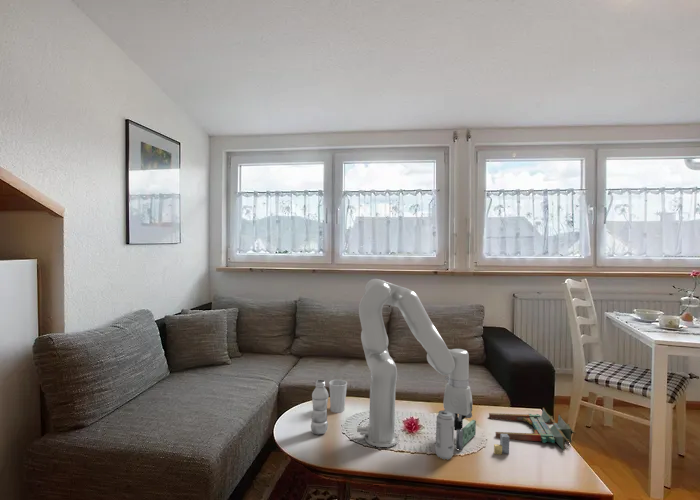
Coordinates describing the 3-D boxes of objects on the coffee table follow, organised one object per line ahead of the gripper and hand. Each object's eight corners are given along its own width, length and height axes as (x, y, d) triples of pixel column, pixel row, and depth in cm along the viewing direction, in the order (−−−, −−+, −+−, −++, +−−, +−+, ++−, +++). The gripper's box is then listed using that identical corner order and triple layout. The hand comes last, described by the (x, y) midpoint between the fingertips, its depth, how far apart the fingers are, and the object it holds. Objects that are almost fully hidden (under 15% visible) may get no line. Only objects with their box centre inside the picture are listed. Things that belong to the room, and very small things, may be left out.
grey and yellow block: (494, 454, 141) (495, 437, 141) (492, 449, 144) (492, 433, 144) (509, 455, 141) (510, 438, 141) (506, 450, 144) (507, 433, 144)
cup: (338, 404, 181) (339, 378, 181) (350, 410, 175) (350, 383, 175) (324, 408, 176) (325, 381, 176) (335, 415, 170) (336, 387, 170)
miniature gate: (487, 405, 176) (561, 408, 170) (488, 418, 176) (561, 420, 170) (497, 433, 150) (585, 437, 144) (498, 448, 150) (585, 453, 144)
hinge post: (456, 450, 143) (457, 431, 143) (455, 447, 145) (456, 428, 145) (462, 451, 143) (463, 431, 143) (461, 448, 145) (462, 428, 145)
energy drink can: (452, 461, 135) (454, 418, 135) (434, 458, 137) (436, 415, 137) (453, 453, 141) (454, 411, 141) (436, 450, 143) (437, 408, 143)
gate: (462, 446, 145) (463, 431, 145) (459, 445, 146) (460, 430, 146) (475, 434, 154) (475, 420, 154) (472, 433, 155) (472, 419, 155)
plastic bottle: (307, 432, 154) (308, 380, 154) (321, 427, 159) (322, 377, 158) (317, 438, 149) (318, 385, 149) (331, 433, 154) (332, 381, 154)
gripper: (436, 380, 154) (435, 427, 154) (473, 389, 145) (473, 439, 145) (444, 375, 160) (443, 420, 160) (481, 383, 151) (480, 431, 151)
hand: (457, 429), depth 153 cm, fingers closed
